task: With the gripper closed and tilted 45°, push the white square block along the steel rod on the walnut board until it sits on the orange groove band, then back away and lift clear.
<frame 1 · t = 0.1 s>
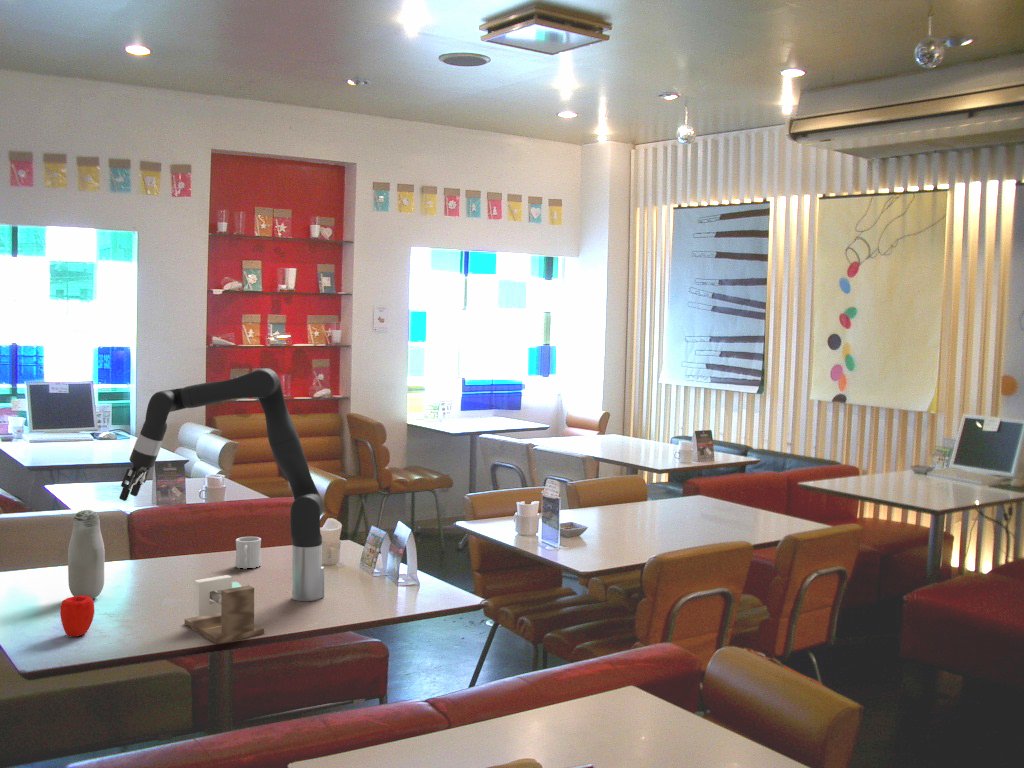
hand: (128, 497, 305), 31 cm above the table, tool tilted 20°, fingers open, 8 cm apart
apple: (77, 635, 267), on the table
rod rig: (223, 628, 275), on the table
mug: (247, 568, 344), on the table
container: (234, 606, 299), on the table, touching rod rig
white square block: (213, 595, 280), point 8 cm above the table, slide at 0.0 cm
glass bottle: (86, 599, 302), on the table
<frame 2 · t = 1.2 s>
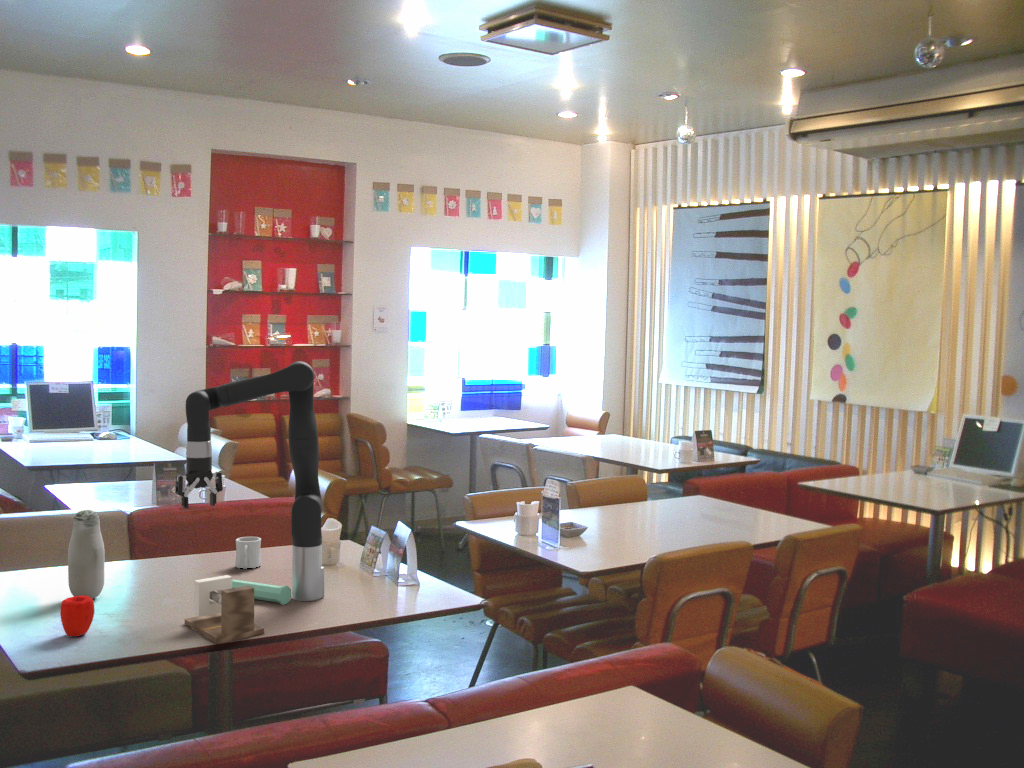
hand: (199, 507, 300), 30 cm above the table, tool pointing down, fingers open, 8 cm apart
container: (259, 588, 308), point 3 cm above the table
everything else where it was.
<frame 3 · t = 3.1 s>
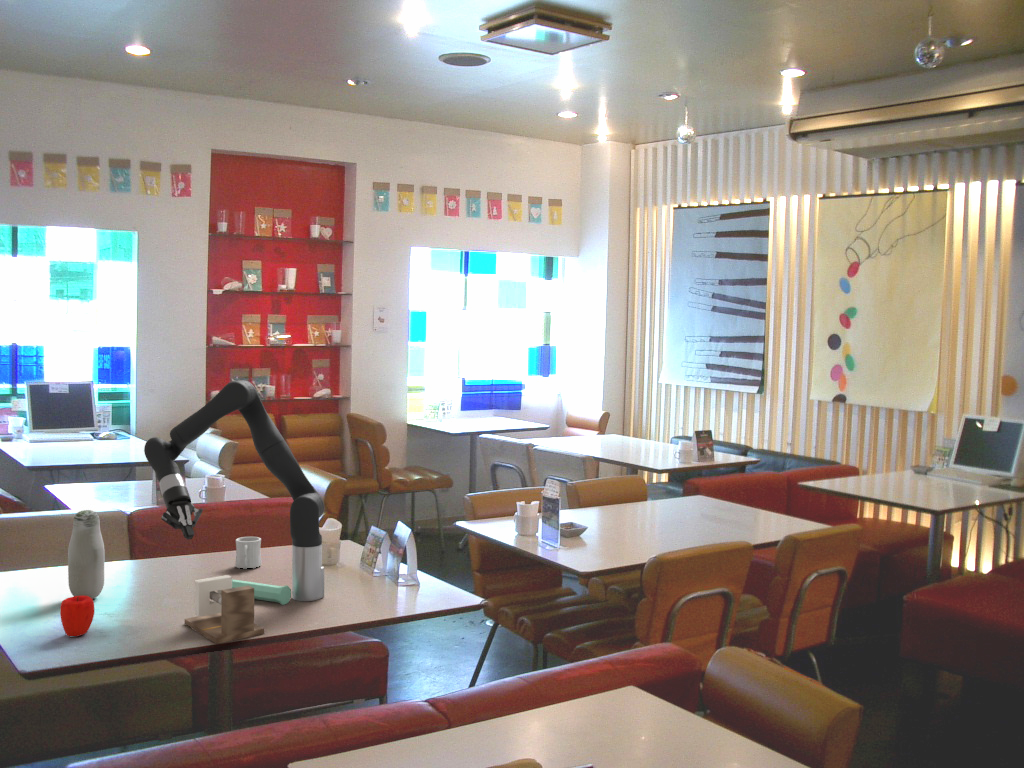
hand: (190, 537, 292), 22 cm above the table, tool tilted 45°, fingers closed
nothing on the table moved.
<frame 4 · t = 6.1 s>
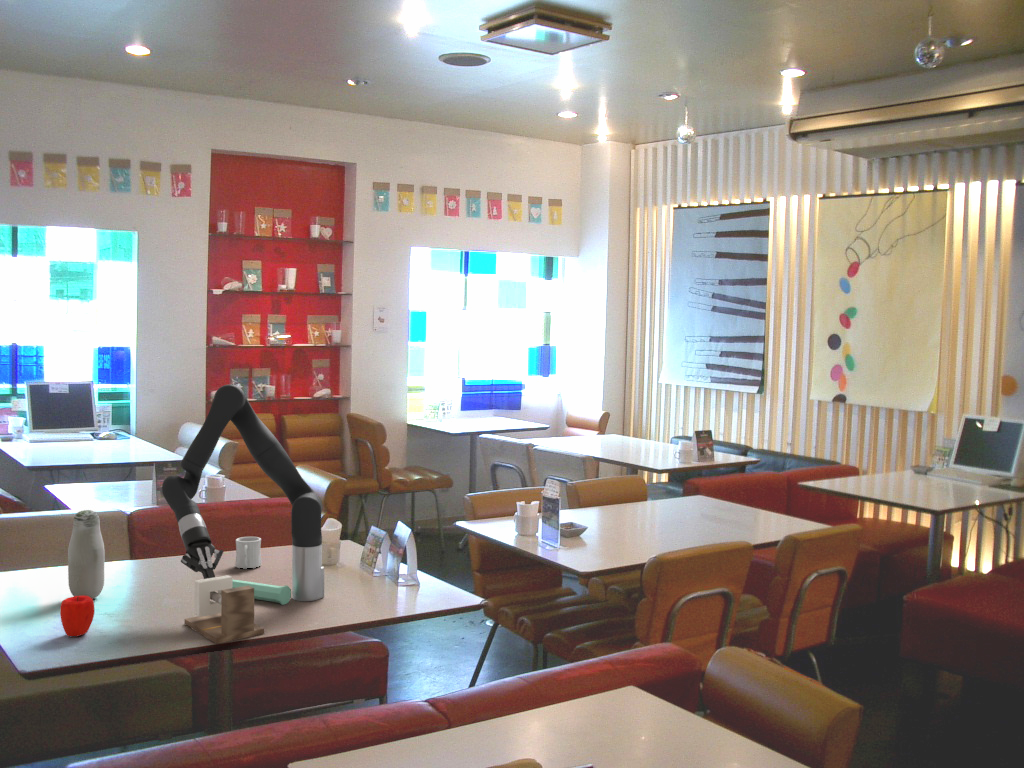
hand: (211, 581, 281), 12 cm above the table, tool tilted 45°, fingers closed
white square block: (213, 595, 279), point 8 cm above the table, slide at 0.3 cm, touching gripper
everything else where it was.
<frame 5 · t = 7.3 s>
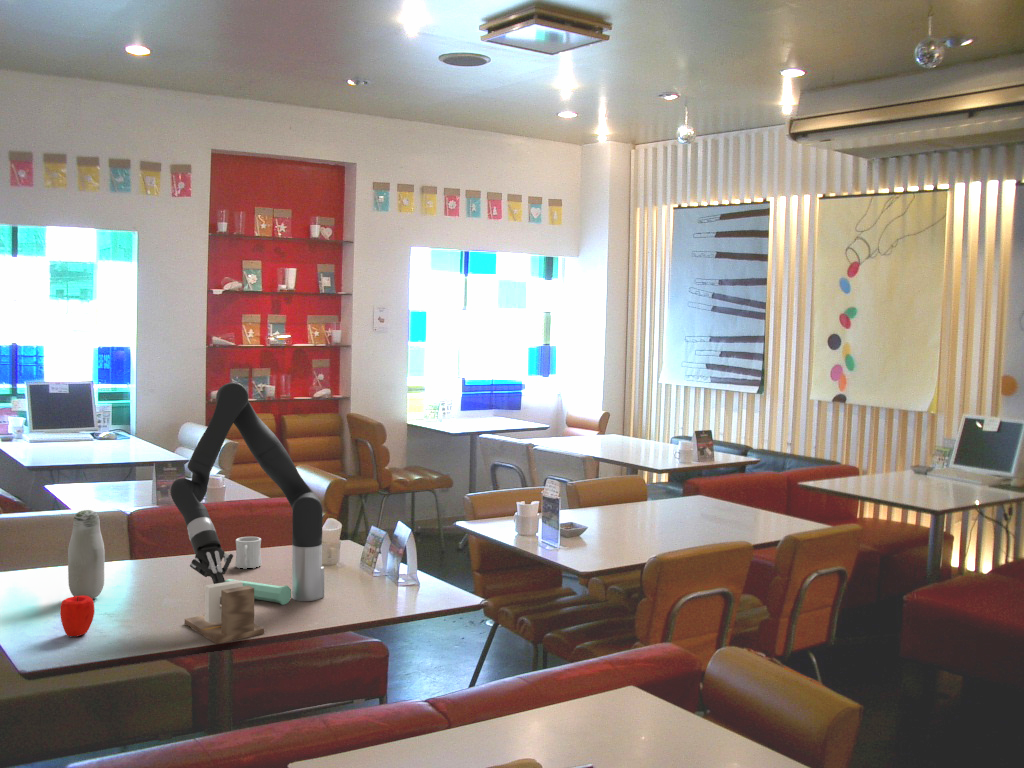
hand: (220, 586, 276), 12 cm above the table, tool tilted 45°, fingers closed
white square block: (223, 601, 274), point 8 cm above the table, slide at 7.0 cm, touching gripper
everything else where it was.
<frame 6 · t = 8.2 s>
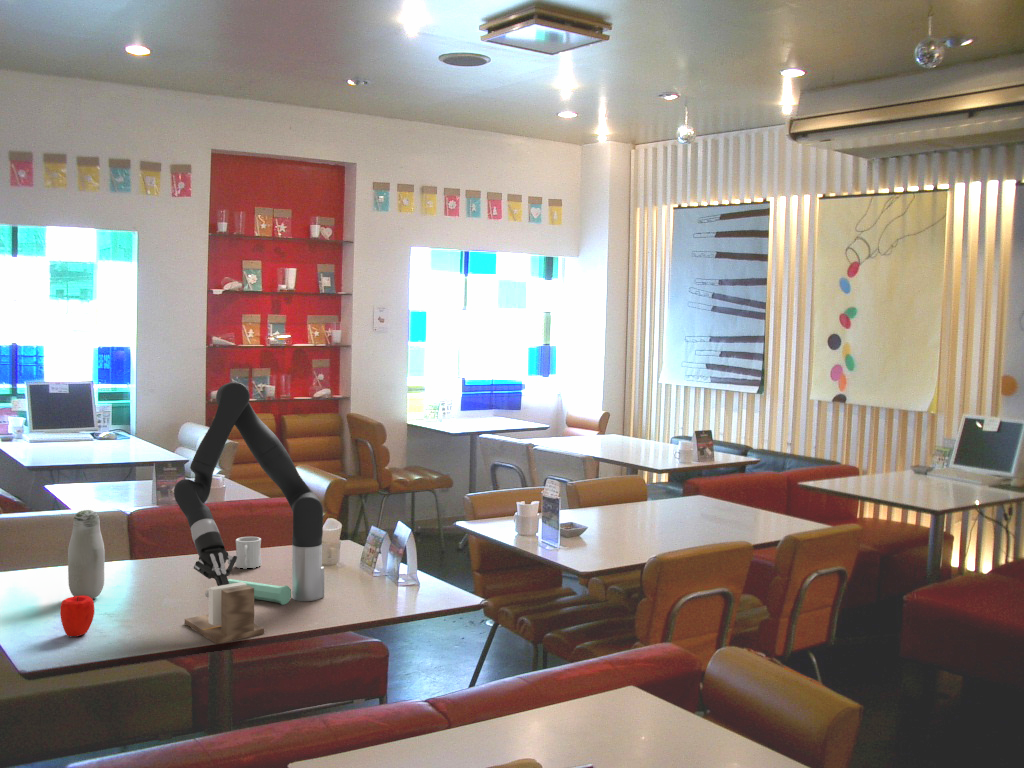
hand: (224, 588, 274), 12 cm above the table, tool tilted 45°, fingers closed
white square block: (227, 603, 272), point 8 cm above the table, slide at 9.7 cm, touching gripper
everything else where it was.
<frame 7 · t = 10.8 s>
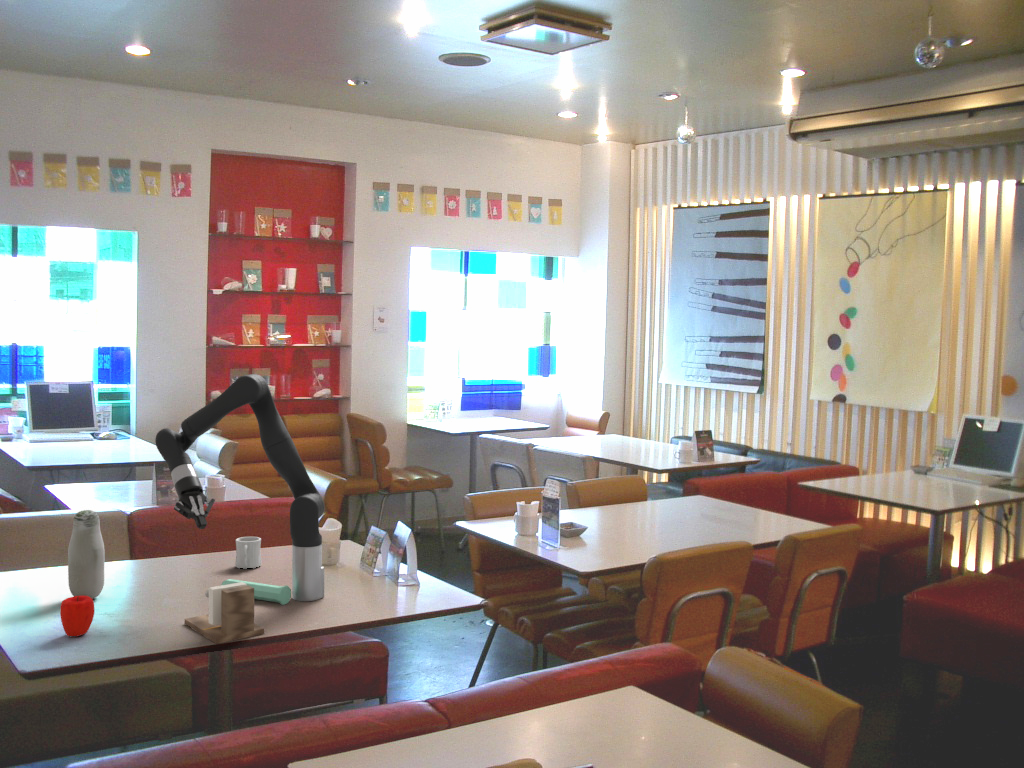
hand: (203, 527, 293), 25 cm above the table, tool tilted 45°, fingers closed
white square block: (227, 603, 272), point 8 cm above the table, slide at 9.7 cm
everything else where it was.
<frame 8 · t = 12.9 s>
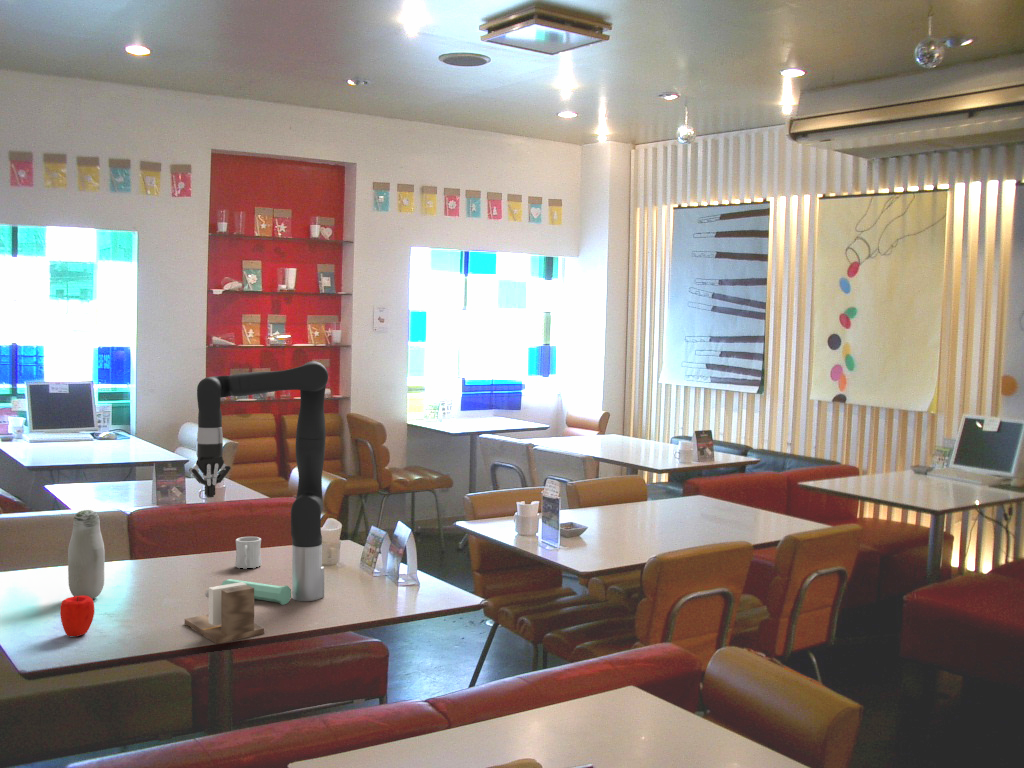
hand: (210, 497, 299), 33 cm above the table, tool pointing down, fingers closed
nothing on the table moved.
at the end: white square block slide at 9.7 cm; white square block moved 9.7 cm from its start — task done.
